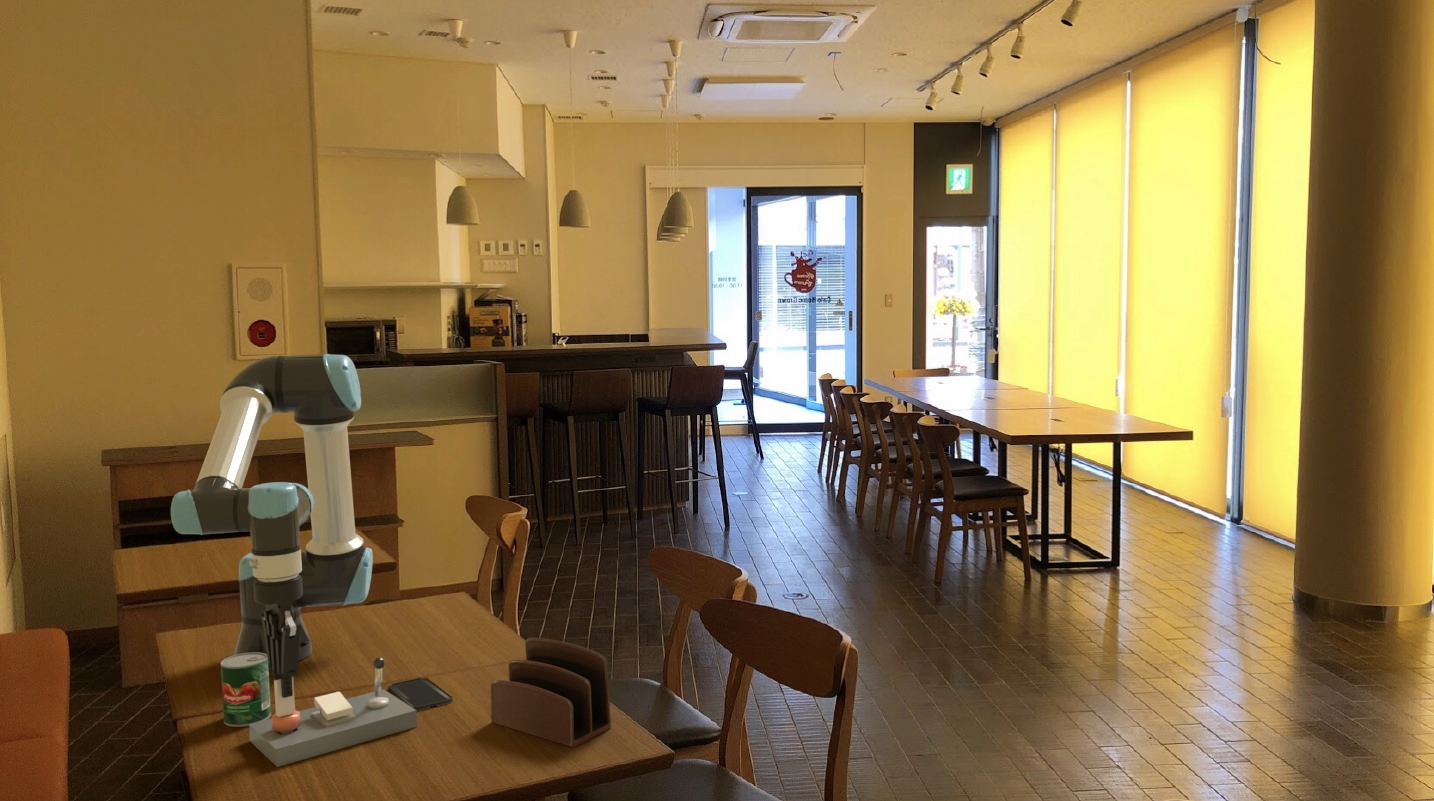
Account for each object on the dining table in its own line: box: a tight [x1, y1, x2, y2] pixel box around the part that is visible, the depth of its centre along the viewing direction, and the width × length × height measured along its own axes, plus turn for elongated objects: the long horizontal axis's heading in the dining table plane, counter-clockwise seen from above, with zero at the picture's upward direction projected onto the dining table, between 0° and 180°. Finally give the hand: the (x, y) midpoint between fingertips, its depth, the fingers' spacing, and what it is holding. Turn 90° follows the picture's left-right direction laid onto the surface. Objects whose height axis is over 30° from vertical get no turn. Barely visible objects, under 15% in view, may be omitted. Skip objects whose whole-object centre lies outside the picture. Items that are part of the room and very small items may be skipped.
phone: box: [387, 676, 454, 712], centre depth 203 cm, size 8×1×15 cm
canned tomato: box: [219, 652, 272, 728], centre depth 193 cm, size 8×8×11 cm
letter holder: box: [490, 637, 612, 748], centre depth 187 cm, size 10×20×14 cm, turn 54°
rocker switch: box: [313, 691, 353, 720], centre depth 185 cm, size 6×4×2 cm
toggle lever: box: [372, 657, 386, 697], centre depth 189 cm, size 2×2×7 cm
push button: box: [271, 709, 300, 735], centre depth 180 cm, size 4×4×5 cm
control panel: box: [248, 689, 418, 768], centre depth 185 cm, size 14×24×4 cm, turn 130°
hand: (285, 713), depth 180 cm, fingers closed
